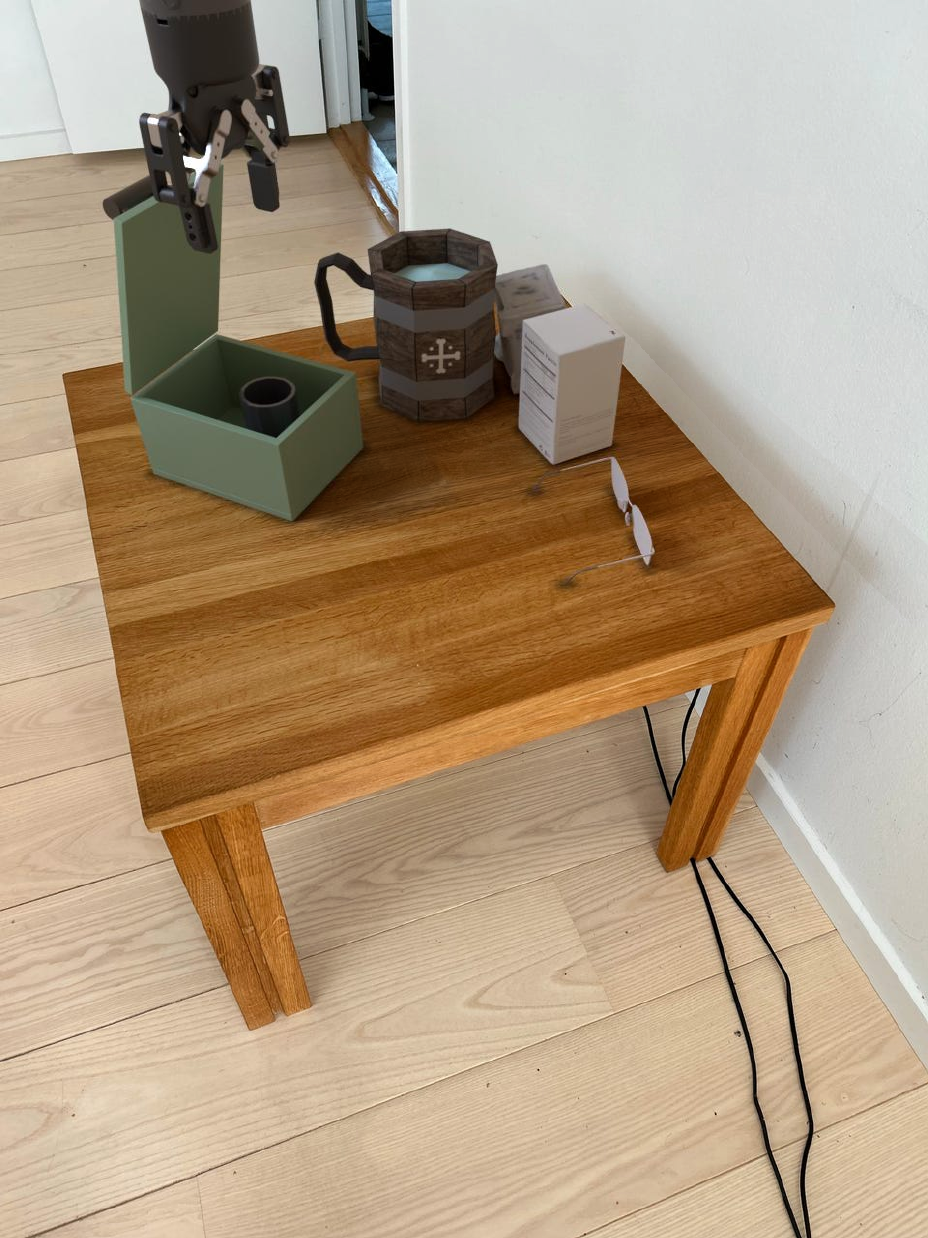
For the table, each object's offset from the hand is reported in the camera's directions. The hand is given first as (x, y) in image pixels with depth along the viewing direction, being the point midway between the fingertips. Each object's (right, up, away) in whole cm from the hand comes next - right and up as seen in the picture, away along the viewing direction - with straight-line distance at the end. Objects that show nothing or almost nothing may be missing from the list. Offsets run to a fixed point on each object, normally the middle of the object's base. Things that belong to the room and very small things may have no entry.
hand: (237, 229), depth 76 cm
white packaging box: (+29, -13, +21) cm, 38 cm away
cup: (0, -16, +17) cm, 23 cm away
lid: (-7, -2, +7) cm, 10 cm away
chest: (-2, -16, +18) cm, 24 cm away
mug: (+12, -6, +28) cm, 31 cm away
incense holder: (+26, -4, +30) cm, 39 cm away
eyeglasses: (+30, -24, +11) cm, 40 cm away
